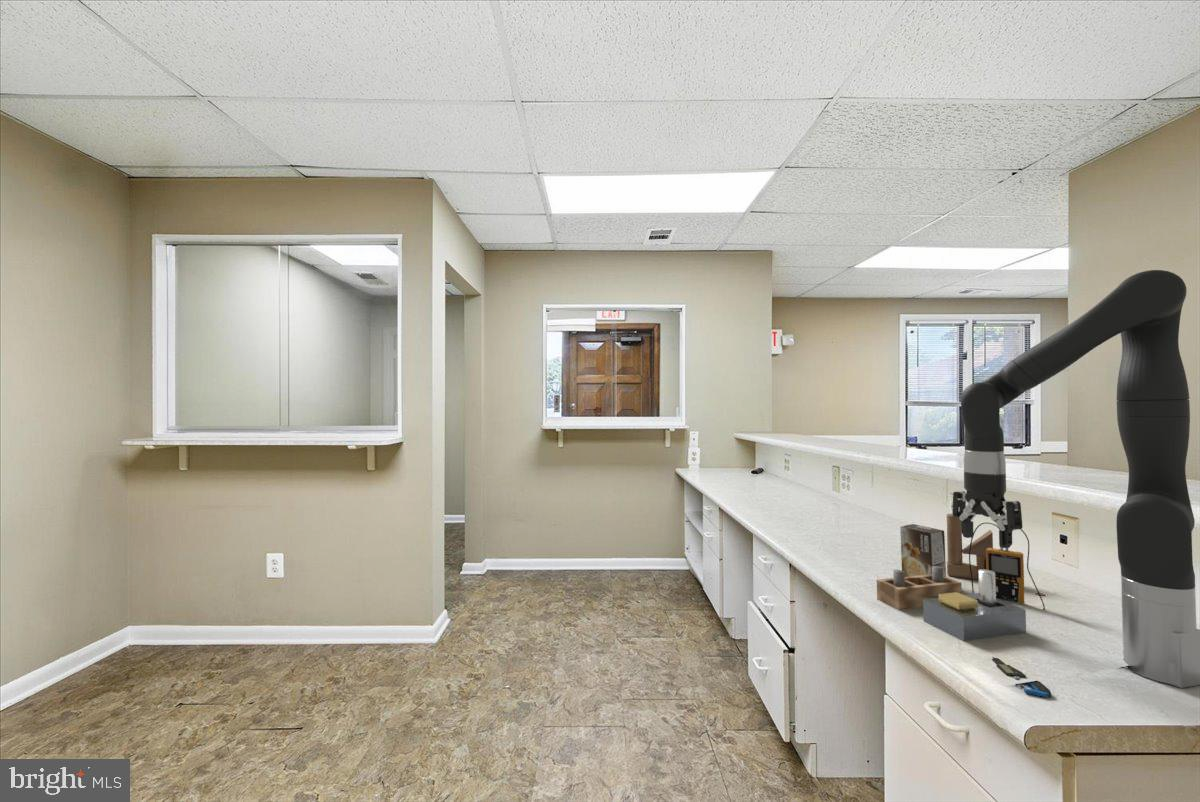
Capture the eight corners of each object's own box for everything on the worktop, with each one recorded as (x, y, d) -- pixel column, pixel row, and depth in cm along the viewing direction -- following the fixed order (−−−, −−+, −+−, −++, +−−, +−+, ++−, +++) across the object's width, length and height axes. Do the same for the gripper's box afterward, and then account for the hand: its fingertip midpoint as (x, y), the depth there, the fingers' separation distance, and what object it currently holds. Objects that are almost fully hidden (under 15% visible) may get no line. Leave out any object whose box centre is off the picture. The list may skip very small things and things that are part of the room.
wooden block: (994, 582, 139) (992, 519, 140) (947, 576, 145) (946, 515, 145) (992, 578, 142) (990, 516, 143) (946, 572, 148) (945, 512, 148)
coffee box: (948, 588, 135) (946, 530, 135) (933, 592, 133) (931, 533, 133) (914, 578, 144) (913, 523, 144) (900, 582, 141) (899, 526, 141)
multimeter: (966, 605, 124) (963, 526, 124) (971, 593, 132) (969, 519, 132) (1044, 621, 114) (1041, 535, 114) (1044, 608, 122) (1042, 527, 122)
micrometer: (1054, 691, 85) (1020, 687, 86) (1054, 702, 85) (1020, 698, 86) (1014, 655, 96) (984, 653, 97) (1014, 665, 96) (984, 662, 97)
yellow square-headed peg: (957, 620, 112) (956, 592, 112) (978, 630, 107) (977, 600, 107) (939, 623, 111) (938, 594, 111) (959, 632, 106) (958, 602, 106)
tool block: (981, 618, 117) (981, 592, 117) (1026, 637, 107) (1025, 609, 107) (923, 625, 113) (923, 599, 113) (964, 645, 103) (963, 617, 103)
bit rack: (937, 596, 130) (936, 562, 130) (962, 606, 123) (961, 570, 123) (877, 603, 126) (876, 568, 126) (898, 614, 119) (898, 577, 120)
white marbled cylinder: (1000, 626, 110) (998, 573, 110) (989, 628, 109) (987, 574, 109) (986, 621, 113) (985, 568, 113) (976, 622, 112) (974, 569, 112)
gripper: (1031, 474, 105) (1032, 550, 105) (968, 466, 119) (969, 533, 119) (1002, 475, 103) (1004, 552, 103) (942, 467, 117) (943, 535, 117)
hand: (985, 542), depth 111 cm, fingers open, 8 cm apart
